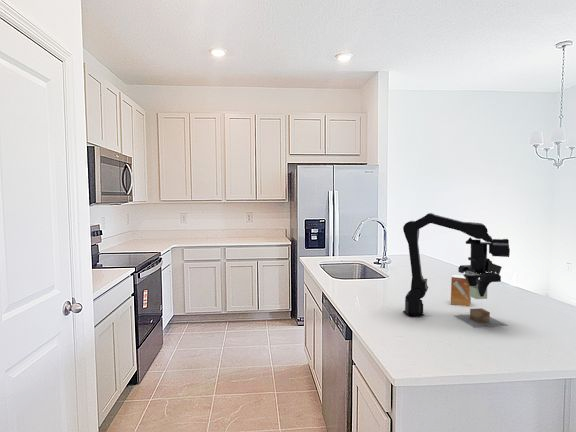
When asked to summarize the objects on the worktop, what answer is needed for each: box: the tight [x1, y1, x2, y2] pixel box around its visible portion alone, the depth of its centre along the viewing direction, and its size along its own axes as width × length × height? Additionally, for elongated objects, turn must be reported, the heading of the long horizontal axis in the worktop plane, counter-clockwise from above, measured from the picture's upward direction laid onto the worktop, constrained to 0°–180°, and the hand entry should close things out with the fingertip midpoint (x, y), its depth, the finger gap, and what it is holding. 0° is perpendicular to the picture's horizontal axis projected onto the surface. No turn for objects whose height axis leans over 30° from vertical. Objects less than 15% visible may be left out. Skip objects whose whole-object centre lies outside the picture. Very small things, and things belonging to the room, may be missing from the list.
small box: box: [450, 274, 472, 307], centre depth 170 cm, size 8×6×13 cm
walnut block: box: [469, 307, 491, 323], centre depth 148 cm, size 5×5×4 cm
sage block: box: [469, 286, 488, 300], centre depth 145 cm, size 4×4×4 cm
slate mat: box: [453, 314, 509, 329], centre depth 148 cm, size 14×14×1 cm
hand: (478, 294), depth 145 cm, fingers closed on sage block, 4 cm apart
